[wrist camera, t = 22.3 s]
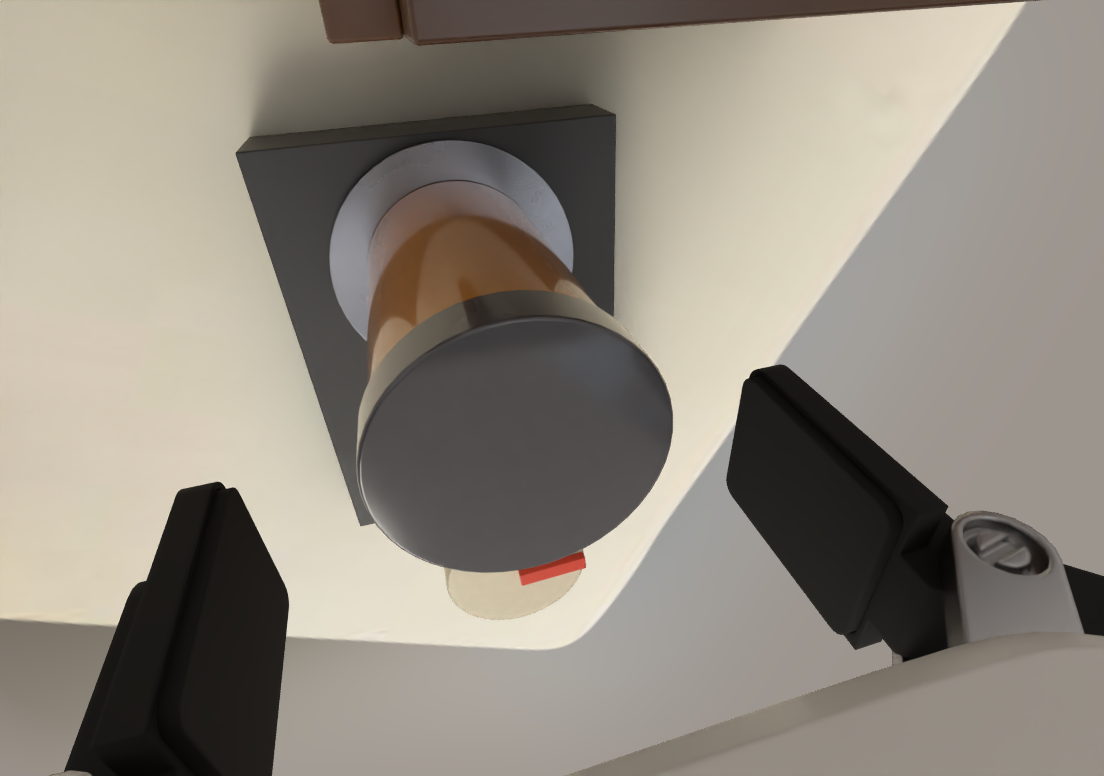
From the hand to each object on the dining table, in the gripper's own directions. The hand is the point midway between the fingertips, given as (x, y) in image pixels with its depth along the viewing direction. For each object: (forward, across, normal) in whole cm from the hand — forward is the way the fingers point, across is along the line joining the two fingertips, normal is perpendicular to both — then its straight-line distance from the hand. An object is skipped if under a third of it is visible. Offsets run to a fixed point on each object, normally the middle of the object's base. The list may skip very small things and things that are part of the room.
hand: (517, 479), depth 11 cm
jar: (+12, 0, +1) cm, 12 cm away
